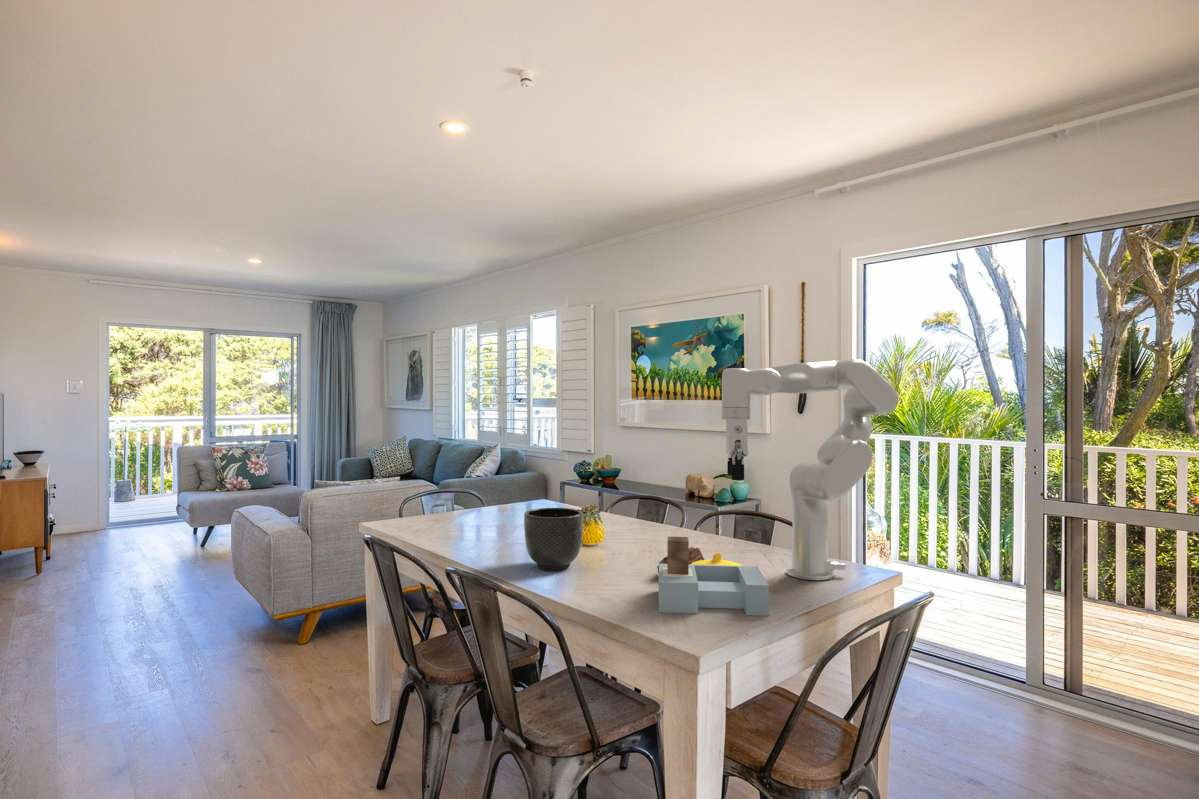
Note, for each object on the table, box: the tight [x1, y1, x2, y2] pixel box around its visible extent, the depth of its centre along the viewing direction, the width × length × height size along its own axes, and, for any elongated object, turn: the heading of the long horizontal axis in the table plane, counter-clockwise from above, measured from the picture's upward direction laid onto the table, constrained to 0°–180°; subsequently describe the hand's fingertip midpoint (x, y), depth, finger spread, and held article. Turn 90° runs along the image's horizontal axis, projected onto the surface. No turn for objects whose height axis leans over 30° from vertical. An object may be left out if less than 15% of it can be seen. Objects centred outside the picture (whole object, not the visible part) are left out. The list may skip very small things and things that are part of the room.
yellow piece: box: [692, 552, 744, 566], centre depth 182 cm, size 16×16×7 cm
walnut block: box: [666, 536, 690, 575], centre depth 162 cm, size 5×5×8 cm
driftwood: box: [656, 546, 706, 574], centre depth 189 cm, size 23×8×8 cm, turn 156°
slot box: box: [658, 563, 770, 617], centre depth 161 cm, size 25×17×7 cm
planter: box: [523, 507, 584, 572], centre depth 194 cm, size 17×17×16 cm
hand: (735, 477), depth 178 cm, fingers open, 9 cm apart
